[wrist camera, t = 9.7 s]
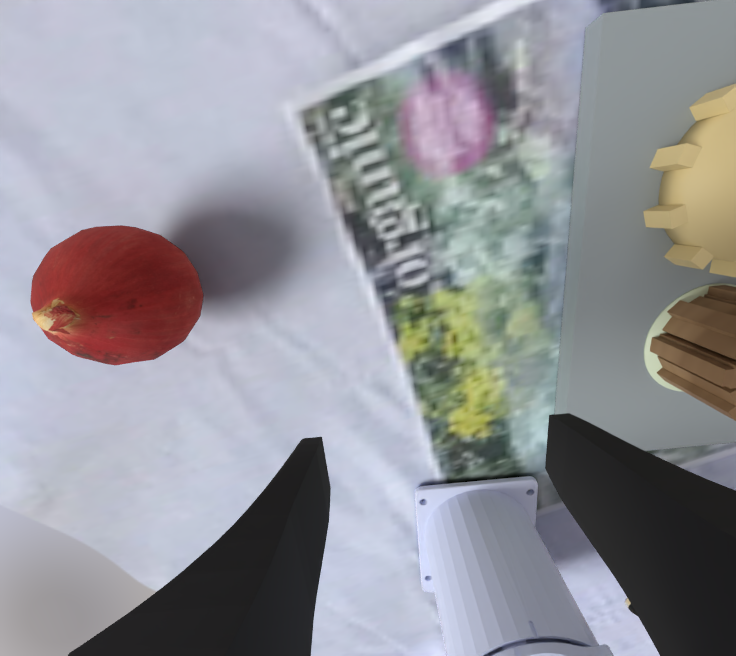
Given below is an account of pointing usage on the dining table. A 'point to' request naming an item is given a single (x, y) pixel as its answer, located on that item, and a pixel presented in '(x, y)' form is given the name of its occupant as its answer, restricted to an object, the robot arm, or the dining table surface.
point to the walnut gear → (702, 348)
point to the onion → (116, 295)
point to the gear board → (648, 215)
